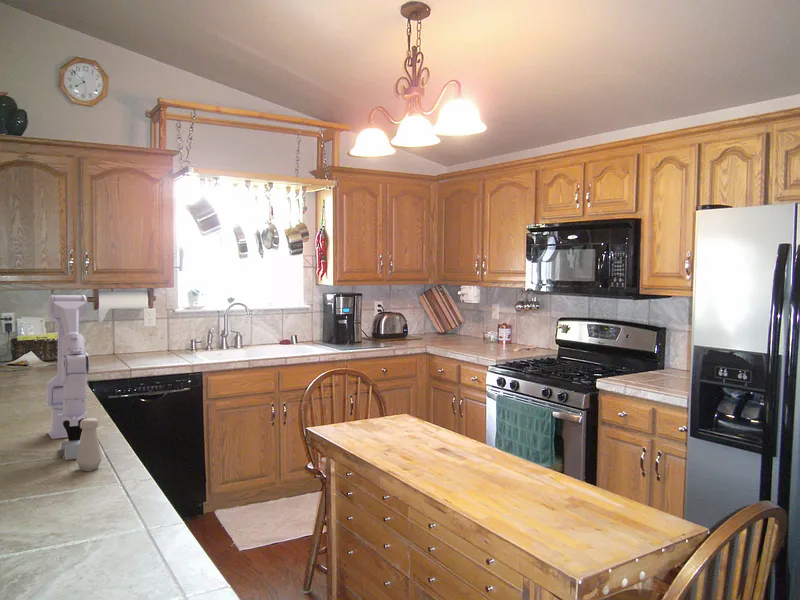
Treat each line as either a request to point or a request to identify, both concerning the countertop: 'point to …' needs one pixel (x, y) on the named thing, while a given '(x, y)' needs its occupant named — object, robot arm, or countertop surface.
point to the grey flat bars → (62, 449)
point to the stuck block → (71, 449)
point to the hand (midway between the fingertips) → (74, 446)
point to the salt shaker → (89, 446)
